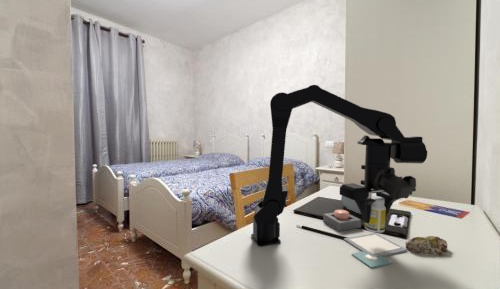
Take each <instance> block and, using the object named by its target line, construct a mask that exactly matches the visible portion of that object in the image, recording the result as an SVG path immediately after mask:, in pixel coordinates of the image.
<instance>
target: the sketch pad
mask: <svg viewBox="0 0 500 289" xmlns="http://www.w3.org/2000/svg"><path fill="white" fill-rule="evenodd" d="M343 240H344V241H345V242H347V243H348V244H350V245H351V246H352V247H354V248H356V249H357V250H359V252H362V251H364V252H365V253H367V254H368V255H373V256H372V257H377V256H382V257H387V256H390V255H395V254H401V253H406V252H408V249H407V248H406V247H403V246H401V245H400V244H397V242H396V243H395V242H393V241H391V240H389V239H388V238H386V237H384V236H381V235H380V234H379V233H377V232H372V233H367V234H363V235H356V236H352V237H351V236H350V237H345V238H343Z"/></svg>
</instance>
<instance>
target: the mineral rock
mask: <svg viewBox="0 0 500 289" xmlns="http://www.w3.org/2000/svg"><path fill="white" fill-rule="evenodd" d="M447 242H448V241H447V240H445V239H444V238H441V237H440V236H434V235H433V236H432V235H428V236H424V237H423V236H415V237H412V238H411V239H408V241H406V242H405V249H407V251H409V252H412V253H415V254H419V255H422V254H423V255H434V256H444V255H446V254H447V253H448V252H449V251H448V250H449V249H448V243H447Z"/></svg>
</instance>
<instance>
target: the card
mask: <svg viewBox="0 0 500 289" xmlns="http://www.w3.org/2000/svg"><path fill="white" fill-rule="evenodd" d="M351 256H353V257H354V258H356V259H357V260H359V261H360V262H361V263H363V264H364V265H365V266H367V267H368V268H370V269H375V268H380V267H384V266H389V265H391V264H392V263H393V262H392V261H390V260H389V259H387V258H385V256H383V257H382V256H377V257H372V256H373V255H368V254H367V253H365V252H364V251H358V252H353V253H351Z"/></svg>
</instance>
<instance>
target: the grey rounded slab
mask: <svg viewBox="0 0 500 289" xmlns="http://www.w3.org/2000/svg"><path fill="white" fill-rule="evenodd" d="M340 201H341V203H342V205H343V206H344V207H345V208H346V209H347V210H348V209H349V210H348V211H350V210H352V211H354V212H356V213H355V214H357V213H359V214H358V215H361V212H360V210H359V208H358V206H357V204H356V202H355V200H352V199H349V198H347V197H344V196H342V195H341V197H340ZM352 211H351V212H352ZM354 212H353V213H354Z"/></svg>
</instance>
